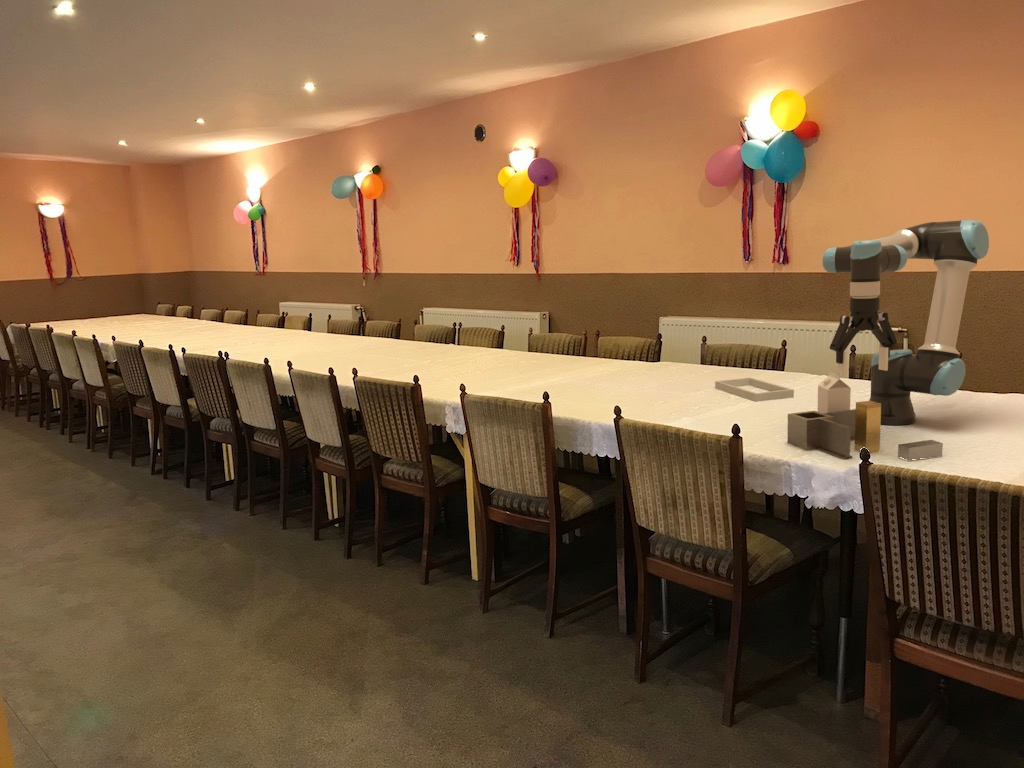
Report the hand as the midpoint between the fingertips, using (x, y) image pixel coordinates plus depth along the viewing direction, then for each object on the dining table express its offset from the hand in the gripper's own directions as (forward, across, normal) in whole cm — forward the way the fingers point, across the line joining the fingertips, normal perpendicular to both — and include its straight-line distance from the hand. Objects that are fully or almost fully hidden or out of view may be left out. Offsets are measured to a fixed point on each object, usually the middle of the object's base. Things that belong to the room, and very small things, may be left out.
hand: (862, 372), depth 211 cm
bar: (+23, -9, +12) cm, 28 cm away
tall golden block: (+23, -1, +1) cm, 23 cm away
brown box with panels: (+23, +3, -5) cm, 23 cm away
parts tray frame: (+23, -19, -85) cm, 90 cm away
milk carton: (+23, -5, -19) cm, 30 cm away
